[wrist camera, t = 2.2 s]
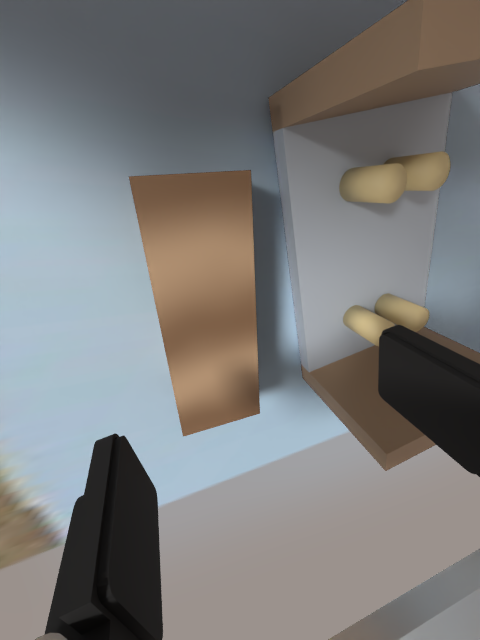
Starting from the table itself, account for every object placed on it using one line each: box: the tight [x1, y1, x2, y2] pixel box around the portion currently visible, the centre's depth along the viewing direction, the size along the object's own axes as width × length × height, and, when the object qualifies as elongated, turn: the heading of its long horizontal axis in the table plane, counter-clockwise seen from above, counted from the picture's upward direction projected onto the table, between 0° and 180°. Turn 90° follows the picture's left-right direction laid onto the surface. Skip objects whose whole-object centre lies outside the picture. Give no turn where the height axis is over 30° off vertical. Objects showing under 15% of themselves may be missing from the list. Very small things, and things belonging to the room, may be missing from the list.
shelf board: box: [129, 170, 260, 436], centre depth 16 cm, size 14×5×4 cm, turn 4°
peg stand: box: [268, 0, 480, 471], centre depth 16 cm, size 19×11×9 cm, turn 12°
